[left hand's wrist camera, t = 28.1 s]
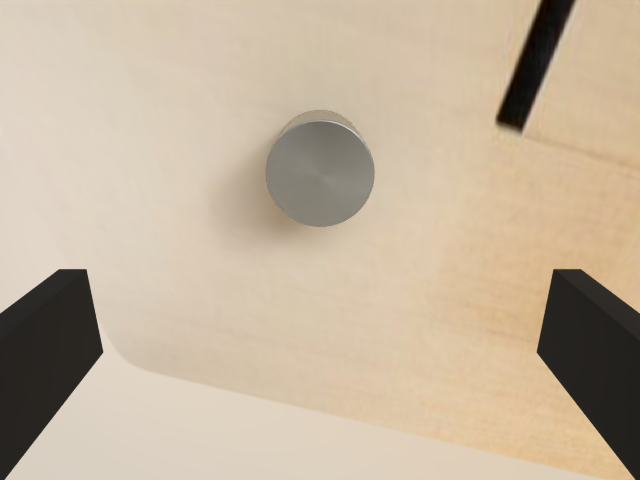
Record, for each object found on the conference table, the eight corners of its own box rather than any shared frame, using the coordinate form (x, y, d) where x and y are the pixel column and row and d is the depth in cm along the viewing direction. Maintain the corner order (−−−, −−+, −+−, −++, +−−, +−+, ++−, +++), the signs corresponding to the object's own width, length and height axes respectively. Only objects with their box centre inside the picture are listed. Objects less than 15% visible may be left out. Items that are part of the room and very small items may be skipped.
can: (277, 107, 35) (266, 116, 28) (367, 112, 36) (379, 122, 28) (275, 195, 38) (265, 224, 31) (360, 200, 38) (369, 229, 31)
